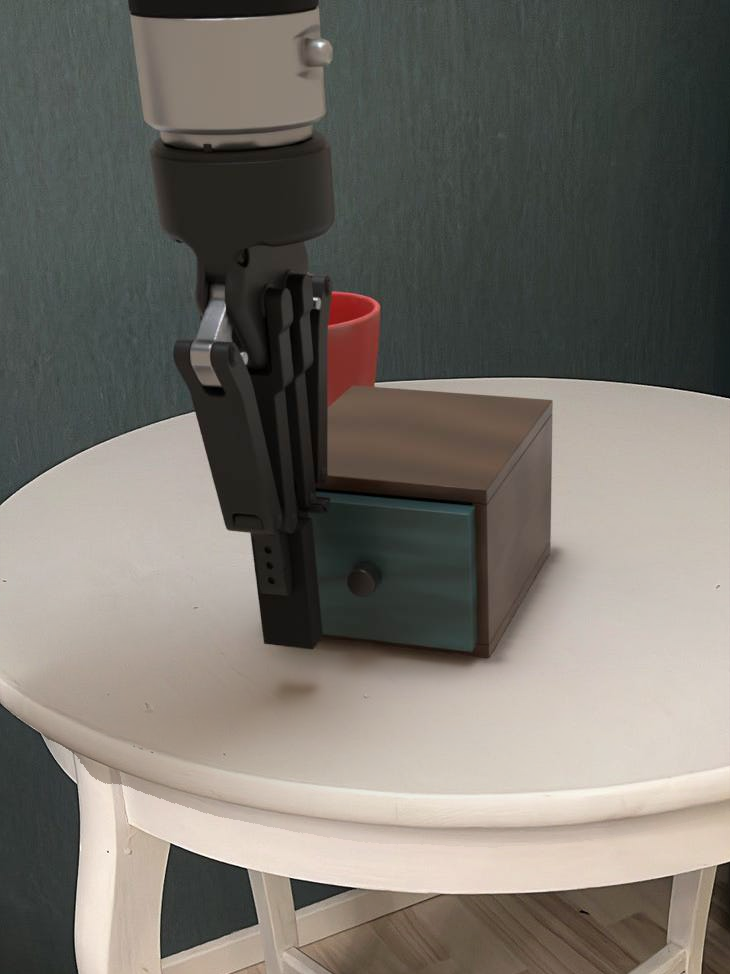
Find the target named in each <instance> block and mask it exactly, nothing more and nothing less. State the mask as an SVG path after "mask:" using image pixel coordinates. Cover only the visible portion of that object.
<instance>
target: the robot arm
mask: <svg viewBox="0 0 730 974" xmlns="http://www.w3.org/2000/svg"><path fill="white" fill-rule="evenodd" d="M127 4H128V11H129V16H130V23H131V32H132V41H133V46H134V54H135V61H136V69H137V79H138V86H139V92H140V100H141V107H142V109H141V110H142V115H143V120H144V122H145V123H146V124H148V125H149V126H150V127H152V129H154V130H156V131H159V133H160V137H158V138H157V139H156V140H155V141H154V142H153V144H152V145H153V147H151V148H150V149H149V157H150V159H149V160H150V166H151V172H152V179H153V187H154V193H155V199H156V206H157V207H156V208H157V213H158V220H159V226H160V229H161V230H162V232H163V233H164V234H165V236H167V237H168V238H169V239H170V240H172V241H174V242H176V243H178V244H184V245H186V246H187V247H188V248H190V250H191V251H192V252H193V253H194V255H195V257H196V263H195V265H196V266H195V267H196V268H195V269H196V276H195V277H196V278H195V290H194V292H195V293H194V296H195V303H196V307H197V310H198V312H199V317H200V318H199V319H200V324H199V328H198V330H197V333H196V336H195V339H190V338H189V339H187V338H178V339H176V341H175V342H174V345H173V352H172V353H173V354H172V357H173V362H174V364H175V367H176V369H177V371H178V372H179V374H180V376H181V378H182V380H183V382H184V384H185V386H186V387H187V389H188V392H189V394H190V397H191V401H192V405H193V409H194V413H195V416H196V420H197V423H198V427H199V432H200V436H201V439H202V442H203V443H202V444H203V446H204V451H205V454H206V458H207V462H208V465H209V469H210V473H211V477H212V481H213V485H214V488H215V493H216V496H217V499H218V503H219V507H220V512H221V516H222V518H223V519H222V520H223V523H224V526H225V529H226V530H227V531H229V532H239V533H250V541H251V547H252V548H251V549H252V558H253V565H254V574H255V581H256V589H257V597H258V606H259V614H260V622H261V630H262V638H263V644H264V645H270V646H279V647H287V648H294V649H303V650H314V649H315V648H316V647H317V645H318V644H319V643H320V641H321V640H322V639H323V638H322V637H323V631H322V621H321V610H320V599H319V589H318V578H317V567H316V556H315V546H314V535H313V524H312V518H309V517H308V513H316V514H327V513H328V511H329V508H330V497H321V496H316V490H315V486H317V487H324V486H325V484H326V482H327V477H328V473H327V417H328V322H329V313H330V305H331V297H332V291H333V282H332V279H331V276H330V275H328V274H311V273H310V272H309V254H308V250H307V247H306V244H305V242H307V241H310V240H314V239H317V238H318V237H320V236H322V235H324V234H325V233H327V232H329V230H330V229H331V228H332V226H333V225H334V223H335V219H336V207H335V193H334V180H333V168H332V167H333V166H332V152H331V151H332V150H331V143H330V142H329V141H328V140H327V139H326V137H325V135H324V134H323V133H322V132H320V131H318V130H314V124H317V123H319V122H320V121H321V120H322V118H324V116H325V115H326V114H327V104H326V103H327V102H326V101H327V100H326V89H325V88H326V87H325V75H324V74H325V72H324V67H328V66H329V65H330V63H332V60H333V58H334V57H333V55H334V53H333V52H334V49H333V46H332V45H331V43H330V40H328V39H325V38H323V37H322V35H321V34H322V33H321V19H320V7H318V6H319V4H320V2H319V0H127Z"/></svg>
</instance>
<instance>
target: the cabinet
mask: <svg viewBox="0 0 730 974" xmlns="http://www.w3.org/2000/svg"><path fill="white" fill-rule="evenodd" d="M553 407H554V406H553V400H552V399H544V398H530V397H518V396H517V397H516V396H504V395H503V396H502V395H489V394H477V393H474V394H473V393H463V392H450V391H449V392H448V391H437V390H436V391H435V390H421V389H408V388H395V387H394V388H393V387H381V386H380V387H379V386H374V387H368V386H354V385H353V386H352V387H351V388H349V389H348V390H347V391H346V392H345V393H344V394H343V395H341V396H340V397H339V398H338V399H337V400H336V401H335V402H334V403H332V404H331V405H330V406H329V407H328V417H327V473H328V477H327V482H326V484H325V486H324V487H317V486H315V488H317V489H328V490H339V491H350V492H361V493H371V494H382V495H393V496H404V497H415V498H426V499H436V500H447V501H458V502H469V503H473V504H472V506H475V521H476V571H477V621H478V643H477V644H476V646H475V648H474V649H473V651H472V652H468V651H460V650H451V649H443V648H434V647H426V646H417V645H409V644H401V643H392V642H384V641H375V640H367V639H358V638H350V637H342V636H333V635H325V634H323V637H322V639H326V640H327V639H328V640H336V641H345V642H351V643H353V642H354V643H362V644H369V645H378V646H386V647H396V648H402V649H403V648H404V649H412V650H419V651H420V650H422V651H429V652H437V653H445V654H454V655H461V656H462V655H463V656H470V657H477V658H490V656H491V655H492V653H493V651H494V649H495V648H496V647H497V644H498V643H499V641H500V640H501V638H502V636H503V634H504V632H505V631H506V629H507V627H508V626H509V624H510V622H511V620H512V618H513V617H514V615H515V614H516V612H517V610H518V608H519V607H520V605H521V603H522V602H523V600H524V598H525V596H526V595H527V593H528V591H529V589H530V588H531V586H532V584H533V582H534V581H535V579H536V577H537V575H538V574H539V572H540V571H541V569H542V567H543V565H544V563H545V562H546V560H547V558H548V556H549V555H550V554H551V544H552V543H551V542H552V541H551V540H552V538H551V537H552V478H553V477H552V476H553V475H552V474H553V466H552V465H553Z"/></svg>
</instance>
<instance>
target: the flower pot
mask: <svg viewBox="0 0 730 974" xmlns="http://www.w3.org/2000/svg"><path fill="white" fill-rule="evenodd" d="M380 325H381V304H380V303H379V302H378V301H377V299H374V298H372V297H370V296H366V295H362V294H358V293H353V292H344V291H333V290H332V297H331V305H330V313H329V322H328V407H329V406H330V405H331V404H332V403H334V402H335V401H336V400H337V399H338V398H339V397H340V396H341V395H343V394H344V393H345V392H346V391H347V390H348V389H349V388H351V387H352V386H353V385H354V386H368V387H376V386H375V385H376V374H377V373H376V372H377V365H378V364H377V363H378V352H379V341H380V327H381V326H380Z"/></svg>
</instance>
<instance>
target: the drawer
mask: <svg viewBox="0 0 730 974" xmlns="http://www.w3.org/2000/svg"><path fill="white" fill-rule="evenodd" d="M315 490H316V496H321V497H330V508H329V511H328V513H327V514H316V513H308V517H309V518H312V524H313V535H314V546H315V556H316V567H317V578H318V589H319V599H320V610H321V621H322V631H323V634H325V635H333V636H342V637H350V638H358V639H367V640H375V641H384V642H392V643H401V644H409V645H417V646H426V647H434V648H443V649H451V650H460V651H468V652H472V651H473V649H474V648H475V646H476V644H477V643H478V621H477V571H476V521H475V506H472V504H473V503H469V502H458V501H447V500H436V499H426V498H415V497H404V496H393V495H382V494H371V493H361V492H350V491H339V490H328V489H317V488H315Z"/></svg>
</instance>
